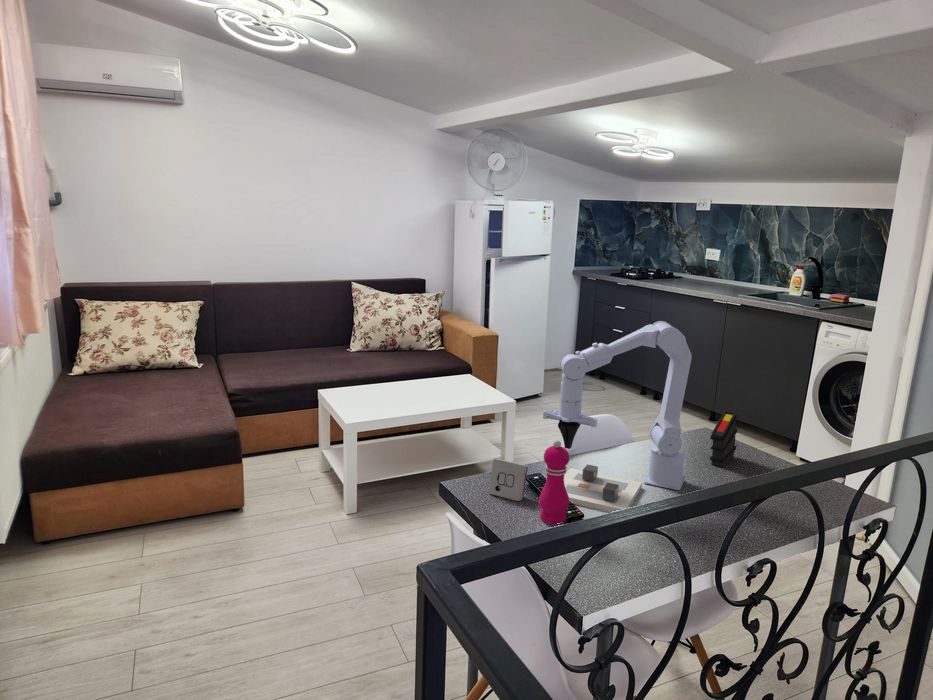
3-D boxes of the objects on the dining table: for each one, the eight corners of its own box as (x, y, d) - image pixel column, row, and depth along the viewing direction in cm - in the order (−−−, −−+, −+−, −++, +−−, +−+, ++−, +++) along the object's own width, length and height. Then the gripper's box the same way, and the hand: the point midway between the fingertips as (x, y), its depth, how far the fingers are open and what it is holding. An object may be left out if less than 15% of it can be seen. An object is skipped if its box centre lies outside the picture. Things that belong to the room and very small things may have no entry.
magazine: (739, 449, 201) (737, 412, 193) (723, 478, 193) (720, 441, 186) (726, 446, 203) (724, 409, 196) (710, 475, 196) (707, 437, 188)
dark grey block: (597, 476, 179) (597, 466, 178) (593, 481, 176) (593, 471, 175) (586, 473, 180) (587, 464, 180) (582, 479, 177) (582, 469, 176)
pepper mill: (532, 514, 161) (536, 437, 156) (558, 509, 163) (562, 433, 159) (547, 528, 154) (551, 447, 150) (574, 522, 157) (578, 443, 152)
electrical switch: (487, 494, 171) (490, 460, 170) (496, 488, 176) (499, 455, 174) (520, 503, 167) (523, 467, 165) (528, 497, 171) (531, 462, 170)
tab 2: (618, 495, 168) (619, 484, 167) (614, 501, 164) (614, 490, 164) (606, 492, 169) (607, 482, 168) (602, 498, 166) (603, 488, 165)
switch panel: (641, 488, 177) (641, 482, 176) (625, 515, 161) (625, 509, 161) (569, 473, 185) (570, 467, 185) (547, 497, 170) (548, 491, 169)
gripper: (540, 399, 176) (537, 447, 179) (593, 407, 169) (589, 457, 172) (549, 392, 182) (546, 439, 185) (600, 400, 176) (597, 448, 179)
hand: (568, 447), depth 179 cm, fingers closed
